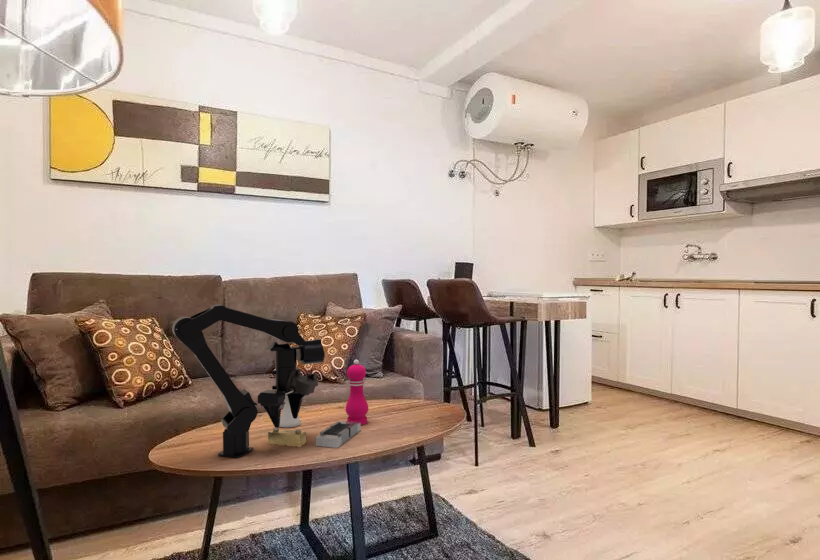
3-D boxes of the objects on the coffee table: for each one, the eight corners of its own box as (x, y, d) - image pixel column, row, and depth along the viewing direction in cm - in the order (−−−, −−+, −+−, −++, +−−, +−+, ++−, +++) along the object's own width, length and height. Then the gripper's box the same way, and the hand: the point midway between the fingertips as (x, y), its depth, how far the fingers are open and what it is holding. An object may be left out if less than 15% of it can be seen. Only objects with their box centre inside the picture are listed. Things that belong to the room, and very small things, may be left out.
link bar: (305, 444, 129) (305, 429, 129) (300, 447, 127) (300, 432, 127) (274, 441, 132) (274, 426, 132) (268, 444, 129) (267, 429, 130)
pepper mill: (365, 418, 153) (364, 357, 153) (371, 424, 146) (370, 360, 146) (343, 421, 150) (342, 358, 151) (348, 427, 144) (347, 362, 144)
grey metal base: (337, 448, 125) (337, 436, 125) (315, 446, 127) (315, 434, 127) (360, 430, 140) (360, 420, 140) (341, 428, 142) (341, 419, 142)
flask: (304, 421, 151) (304, 390, 151) (296, 428, 143) (296, 395, 144) (282, 421, 151) (282, 390, 151) (273, 428, 144) (273, 395, 144)
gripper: (294, 373, 118) (294, 435, 118) (327, 362, 136) (328, 416, 136) (256, 371, 122) (256, 431, 121) (294, 360, 140) (294, 413, 139)
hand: (286, 422), depth 129 cm, fingers open, 9 cm apart
